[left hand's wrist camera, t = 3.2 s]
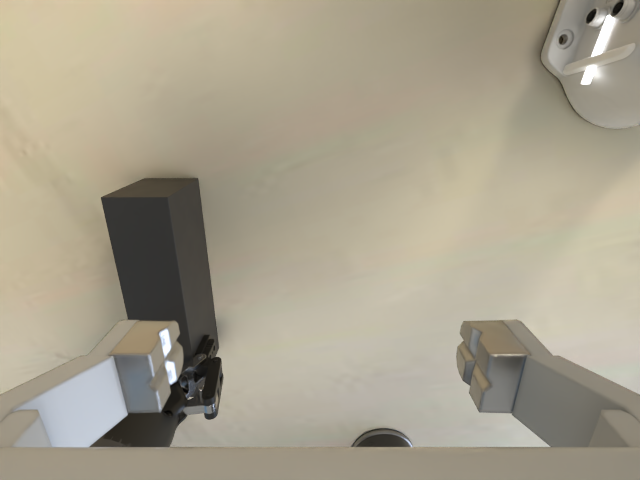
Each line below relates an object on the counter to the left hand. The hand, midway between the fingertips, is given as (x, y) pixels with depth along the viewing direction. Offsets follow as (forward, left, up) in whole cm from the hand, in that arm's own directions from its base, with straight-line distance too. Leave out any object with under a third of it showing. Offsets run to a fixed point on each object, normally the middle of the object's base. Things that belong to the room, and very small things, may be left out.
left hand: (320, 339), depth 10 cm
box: (+13, -17, -31) cm, 38 cm away
